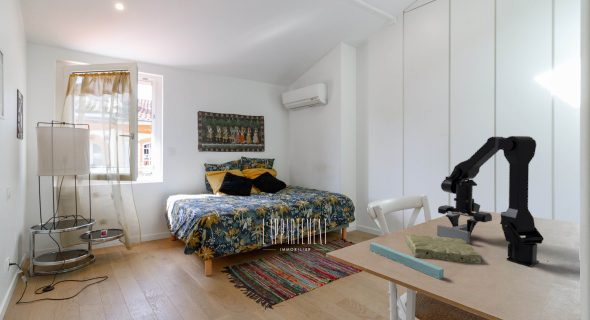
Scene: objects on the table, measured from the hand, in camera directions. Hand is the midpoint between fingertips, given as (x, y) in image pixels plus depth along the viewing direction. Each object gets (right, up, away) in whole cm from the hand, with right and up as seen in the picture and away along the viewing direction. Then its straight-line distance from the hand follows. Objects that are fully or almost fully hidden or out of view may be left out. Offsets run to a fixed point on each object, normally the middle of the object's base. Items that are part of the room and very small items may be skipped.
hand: (462, 234), depth 119 cm
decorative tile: (-17, -3, -16) cm, 24 cm away
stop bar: (-34, -2, -26) cm, 43 cm away
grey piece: (-2, -1, -1) cm, 2 cm away
